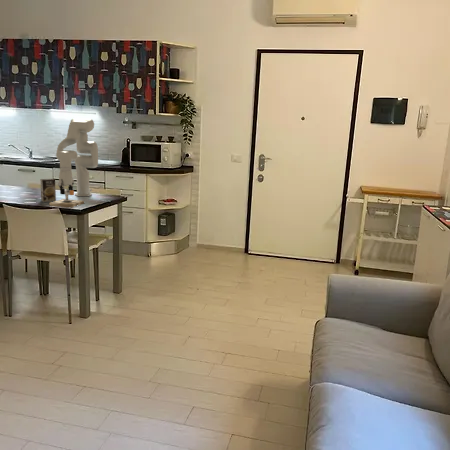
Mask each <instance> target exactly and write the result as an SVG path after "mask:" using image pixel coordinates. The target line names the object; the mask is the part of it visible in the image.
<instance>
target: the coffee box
mask: <svg viewBox="0 0 450 450" xmlns="http://www.w3.org/2000/svg"><path fill="white" fill-rule="evenodd" d="M56 190H57V189H56V179H54V178H41V179H40V201H41V202H43V203H50V202H52V201H53V202H54V201H57V198H56V197H57V194H56V192H57V191H56Z"/></svg>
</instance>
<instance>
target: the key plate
mask: <svg viewBox="0 0 450 450" xmlns="http://www.w3.org/2000/svg"><path fill="white" fill-rule="evenodd" d="M64 200H65V198H62V199H58V200H56V201H53V202H48V203H49V206H51V207H59V206H61V207H60V208H69V207H71V208H74V206H75V207H78V206H81V205H84V204H85V200H81V199H80V200H79V199H70V201H67V202H66V201H64ZM77 205H78V206H77Z"/></svg>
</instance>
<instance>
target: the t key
mask: <svg viewBox="0 0 450 450" xmlns="http://www.w3.org/2000/svg"><path fill="white" fill-rule="evenodd" d="M64 195H65V198H64V199H65V200H64V201H66V202H67V201H70V200H71V198H70V199H69V196H75V190H74V189H73V190H68V189H65V194H64Z"/></svg>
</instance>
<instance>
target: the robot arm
mask: <svg viewBox="0 0 450 450" xmlns="http://www.w3.org/2000/svg"><path fill="white" fill-rule="evenodd" d="M94 128H95V121H94V120H93V119H92V118H82V117H81V118H79V117H77V118H76V117H75V118H74V117H73V118H72V119H70V122H69V125H68V129H67V133H66V137H65V138H64V139H62V140H61V141H60V142H59V144H58V145H57V150H56V153H55V155H56V156H55V157H56V159H57V160H58V161H59V175H58V183H57V185H58V187H59V193H60V195H65V190H66V189H65V187H67V186H68V188H67V190H74V183H75V180H74V179H73V172H72V162H74V164H75V170H76V171H75V172H76V193H74V196H75V197H91V196H92V193H91V192H92V191H93V189H92V188H90V172H89V170H88V169H89V168H90V169H95V168H97V167H98V165H99V148H98V143H97V142H96V141H89V137H88V133H90V132H91V131H93V130H94ZM75 144H76V151H75V150H70V149H69V150H68V149H66V148H67V147H69V146H72V145H75ZM78 153H79V154H80V155H78ZM83 154H84V155H83ZM87 154H88V155H87Z"/></svg>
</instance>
